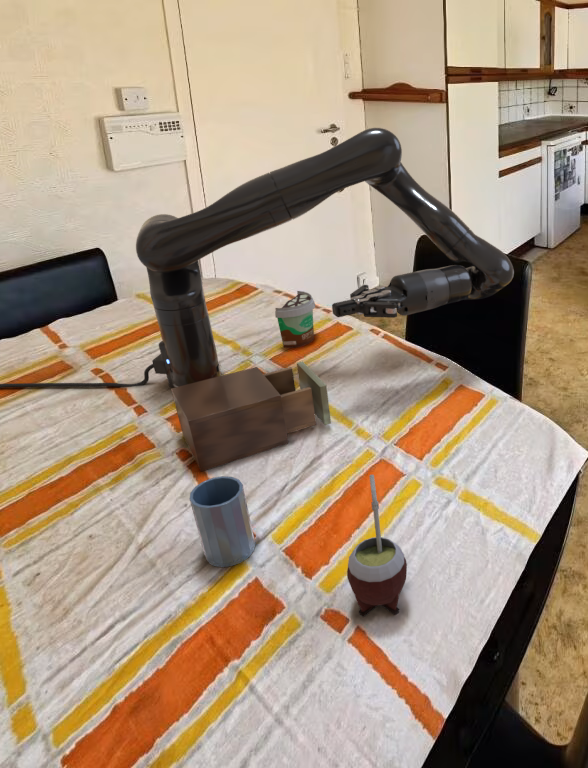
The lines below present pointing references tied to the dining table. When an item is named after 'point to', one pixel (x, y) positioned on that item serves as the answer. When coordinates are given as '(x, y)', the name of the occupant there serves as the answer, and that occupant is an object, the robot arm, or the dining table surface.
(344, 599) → the dining table surface
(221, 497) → the cup
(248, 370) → the cabinet
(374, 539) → the mate gourd
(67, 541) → the dining table surface
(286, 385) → the drawer
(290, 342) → the food container
